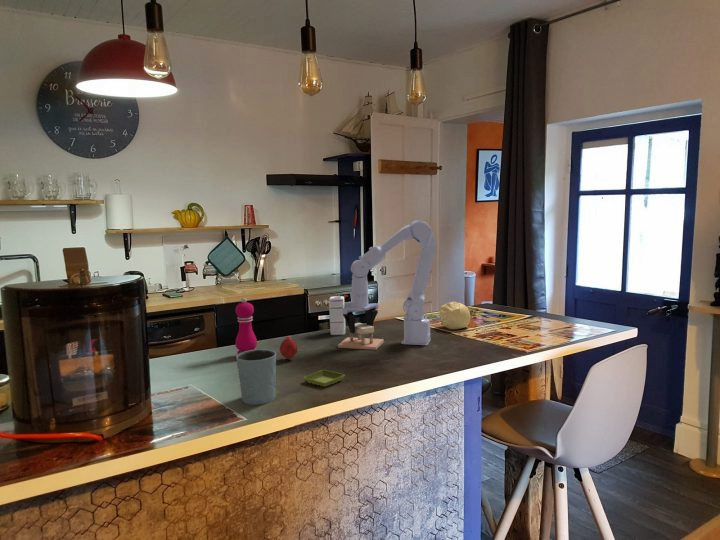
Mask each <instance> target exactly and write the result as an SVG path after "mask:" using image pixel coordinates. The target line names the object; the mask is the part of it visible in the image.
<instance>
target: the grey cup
mask: <svg viewBox="0 0 720 540" xmlns="http://www.w3.org/2000/svg"><path fill="white" fill-rule="evenodd" d="M235 359H236V364H237V368H238V378H239V383H240V384H239V386H240V392H241V400H242V402H243V403H244V404H246V405H251V406H259V404H260V405H265V403H266V404H269V403H271V402H273V401H274V400H275V399H276V383H277V382H276V380H277V379H276V377H277V376H276V375H277V374H276V372H277V371H276V370H277V369H276V368H277V352H276V351H274V350H271V349H263V348H262V349H259V348H258V349H257V348H255V350H249V351H245V352H242V353H240V354H238V355H237V354H236V357H235ZM274 398H275V399H274ZM272 400H273V401H272ZM268 402H269V403H268Z"/></svg>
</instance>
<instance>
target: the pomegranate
mask: <svg viewBox="0 0 720 540" xmlns="http://www.w3.org/2000/svg"><path fill="white" fill-rule="evenodd" d="M298 349H299V348H298V344H297V343H296V341H295V340H294V339H292V338H291V336H290V335H288V336H286V338H285V339H283V341H281V343H280V346H279V353H280V354H281V356H283V357H284V358H285V359H287V360H289V361H290V359H291V360H292V359H293V358H294V356H296V354H297V353H298Z"/></svg>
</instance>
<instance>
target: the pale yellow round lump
mask: <svg viewBox="0 0 720 540" xmlns="http://www.w3.org/2000/svg"><path fill="white" fill-rule="evenodd" d="M439 316H440V318H441V321H442V322H441V323H442V326H444V327H445V328H447V329H448V330H460V329H463V328H466V327H468V326H469V324H470V323H471V312H470V310H469V308H468V306H467V305H465V304H463V303H461V302H456V301H450V302H447V303H444V304H443V305H441V306H439Z"/></svg>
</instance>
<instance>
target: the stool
mask: <svg viewBox="0 0 720 540" xmlns="http://www.w3.org/2000/svg"><path fill="white" fill-rule="evenodd" d="M348 331H349V327H348ZM355 333H357V338H358V340H361V345H365V338H366V335H367V334H369V338H370V344H372V343H373V339H374V333H375V326H374V325H373V326H370V325H367V323H361V322H355ZM349 337H350V341H353V338H354V333H350V332H349Z"/></svg>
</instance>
